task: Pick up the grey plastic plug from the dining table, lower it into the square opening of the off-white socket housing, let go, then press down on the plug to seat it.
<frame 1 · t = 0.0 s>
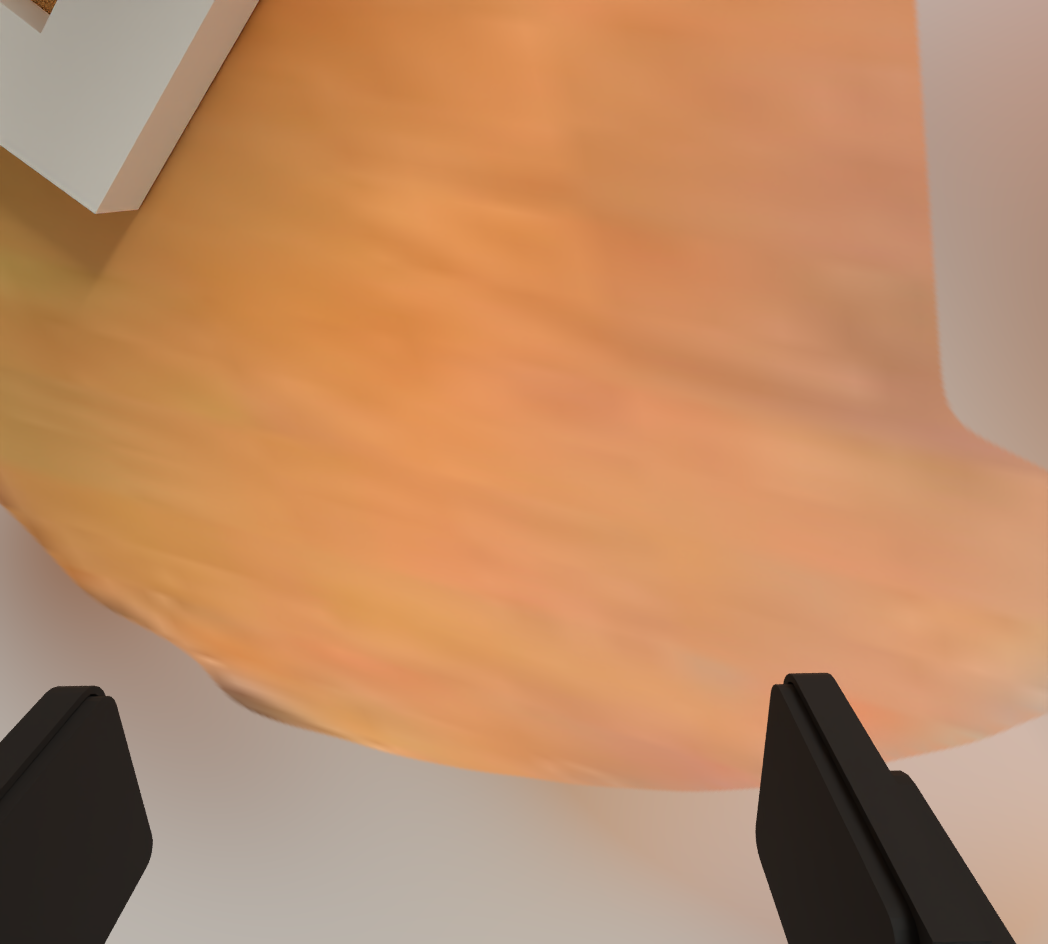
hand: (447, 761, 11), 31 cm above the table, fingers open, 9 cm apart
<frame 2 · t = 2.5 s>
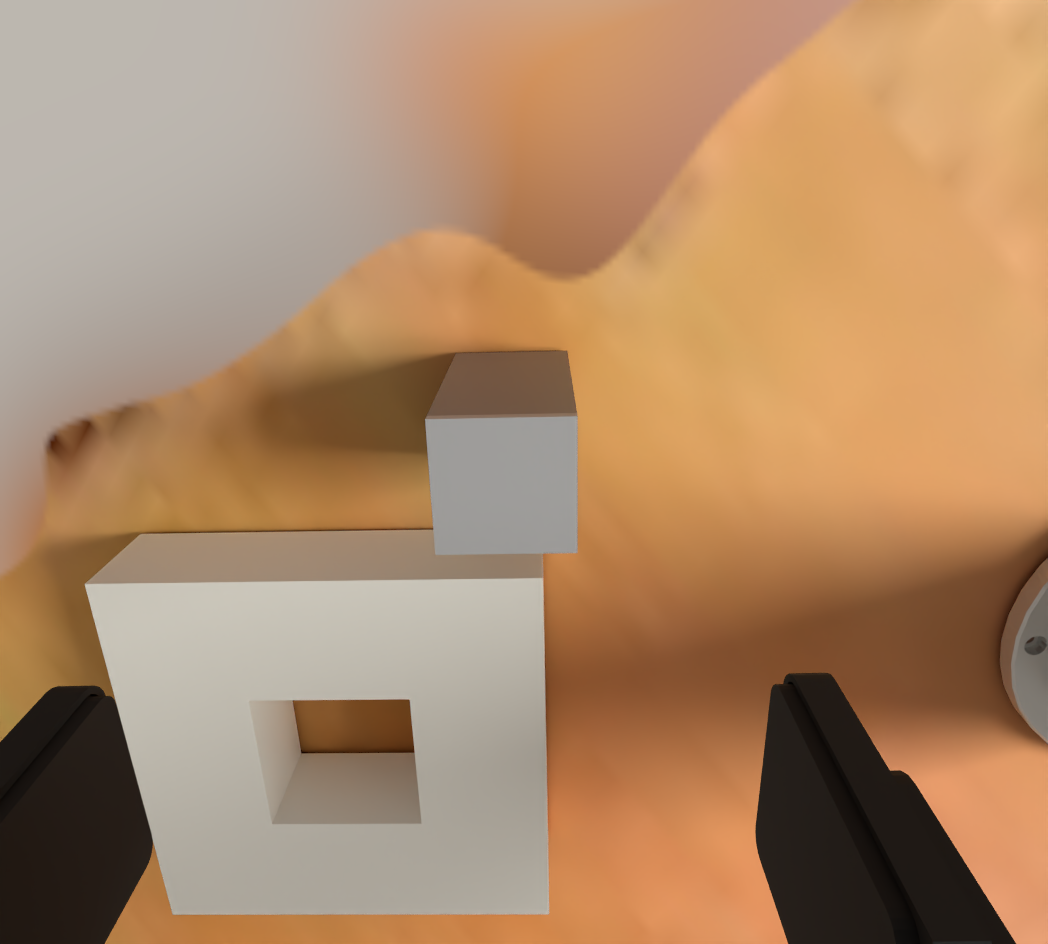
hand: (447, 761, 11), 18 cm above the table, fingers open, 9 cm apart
socket housing: (360, 697, 33), on the table
plug: (513, 405, 28), on the table
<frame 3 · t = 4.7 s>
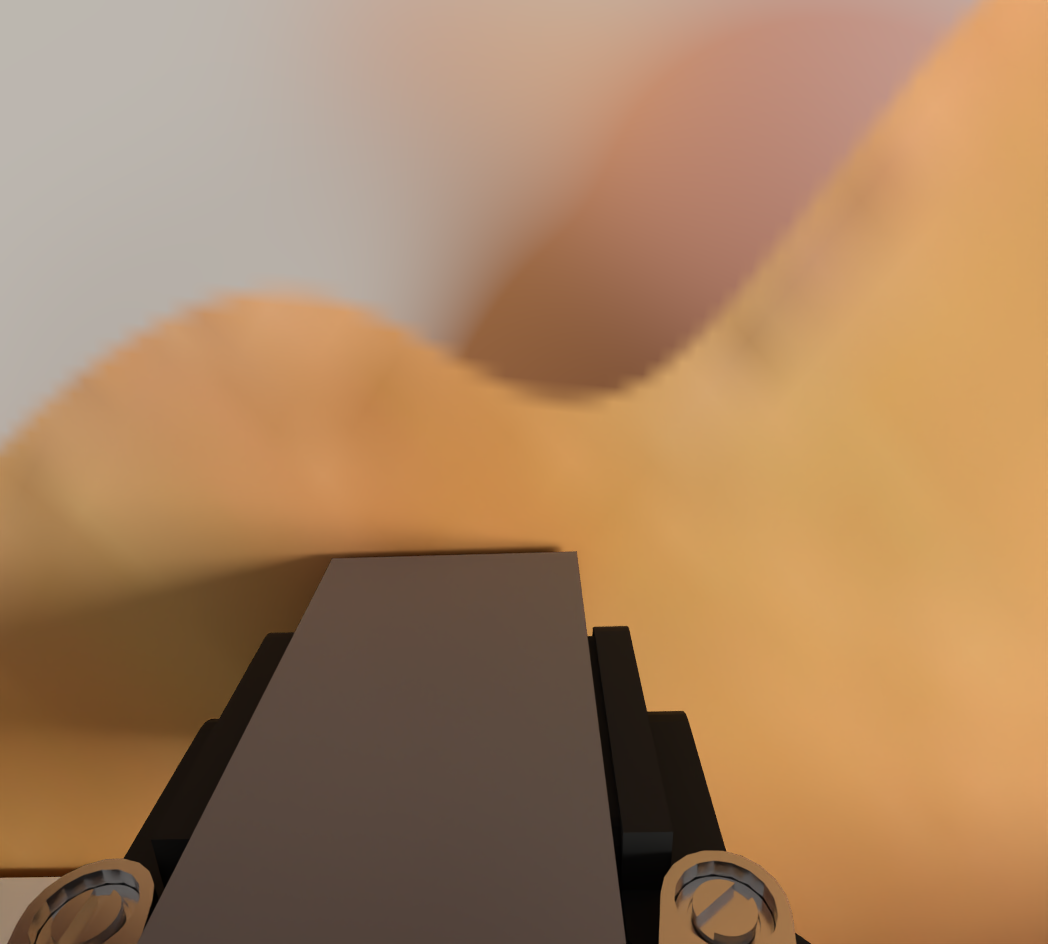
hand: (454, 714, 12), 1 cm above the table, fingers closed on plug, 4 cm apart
plug: (462, 657, 13), on the table, touching gripper
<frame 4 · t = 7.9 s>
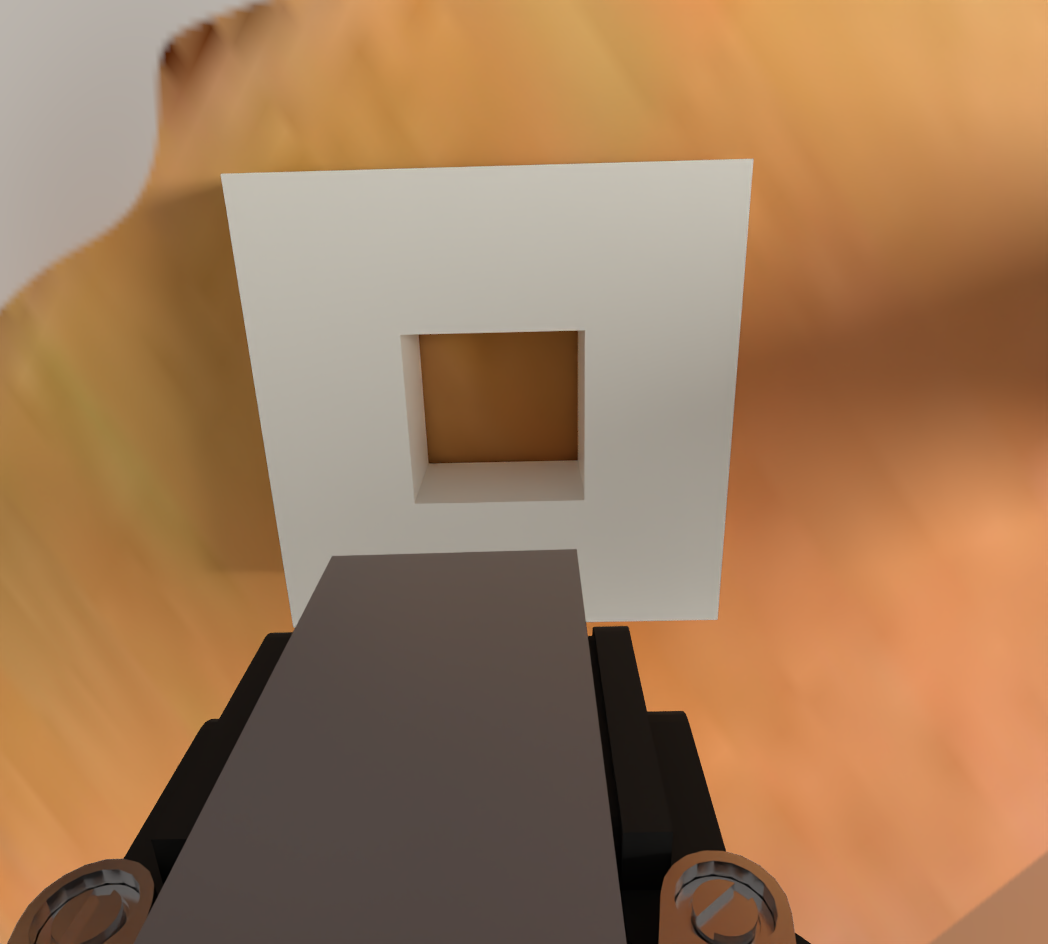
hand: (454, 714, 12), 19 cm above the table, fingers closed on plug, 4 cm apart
socket housing: (500, 389, 29), on the table
plug: (461, 655, 13), point 18 cm above the table, touching gripper
when the fingers open (5 cm above the table, at t = 11.4 s): plug drops 3 cm, resting in socket housing.
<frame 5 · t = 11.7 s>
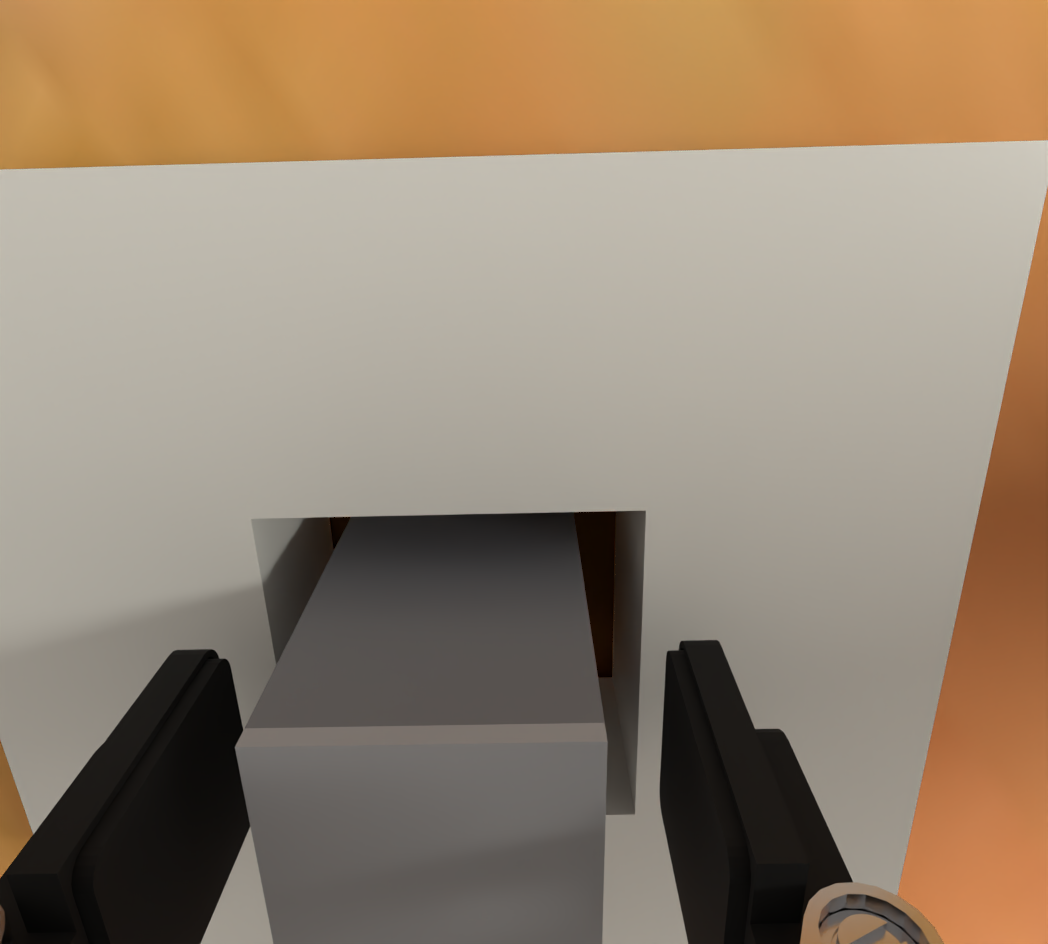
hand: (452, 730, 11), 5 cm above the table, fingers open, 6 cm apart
socket housing: (474, 563, 16), on the table
plug: (473, 559, 16), resting in socket housing
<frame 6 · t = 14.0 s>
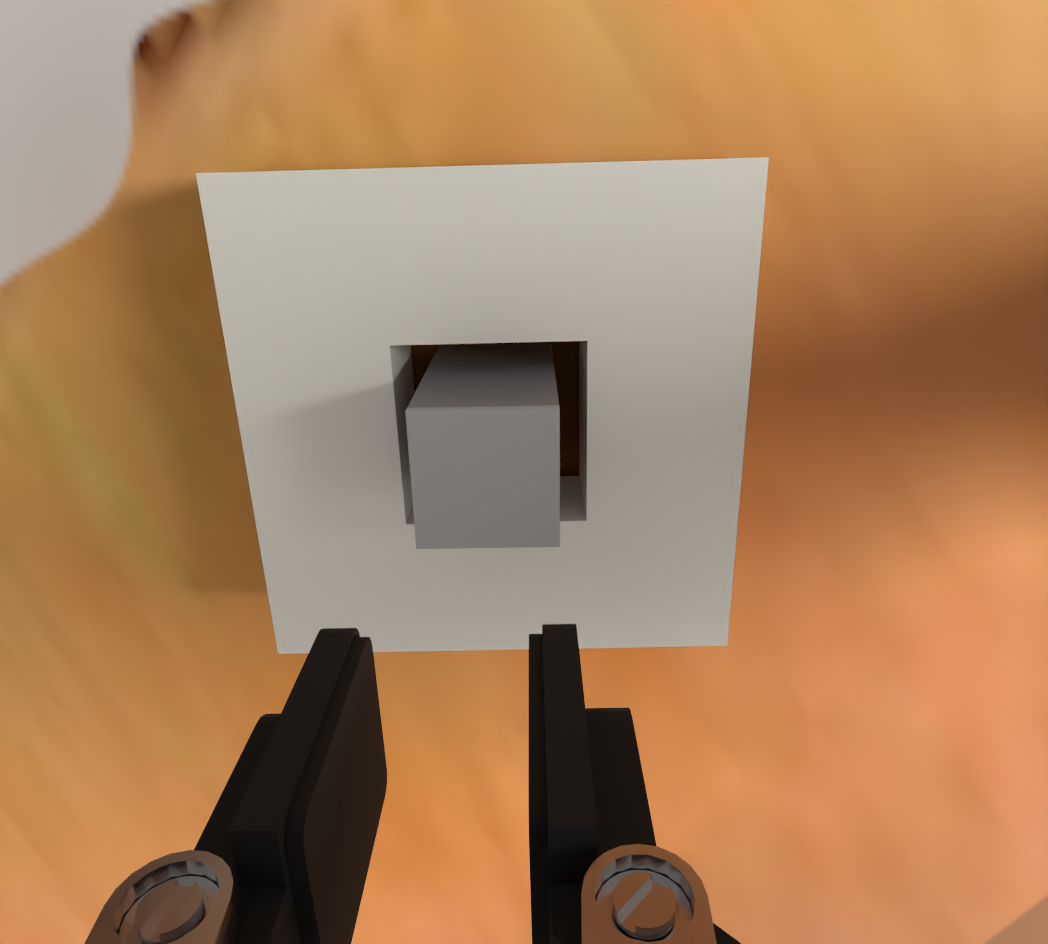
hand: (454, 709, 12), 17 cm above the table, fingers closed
socket housing: (497, 401, 28), on the table
plug: (496, 398, 28), resting in socket housing
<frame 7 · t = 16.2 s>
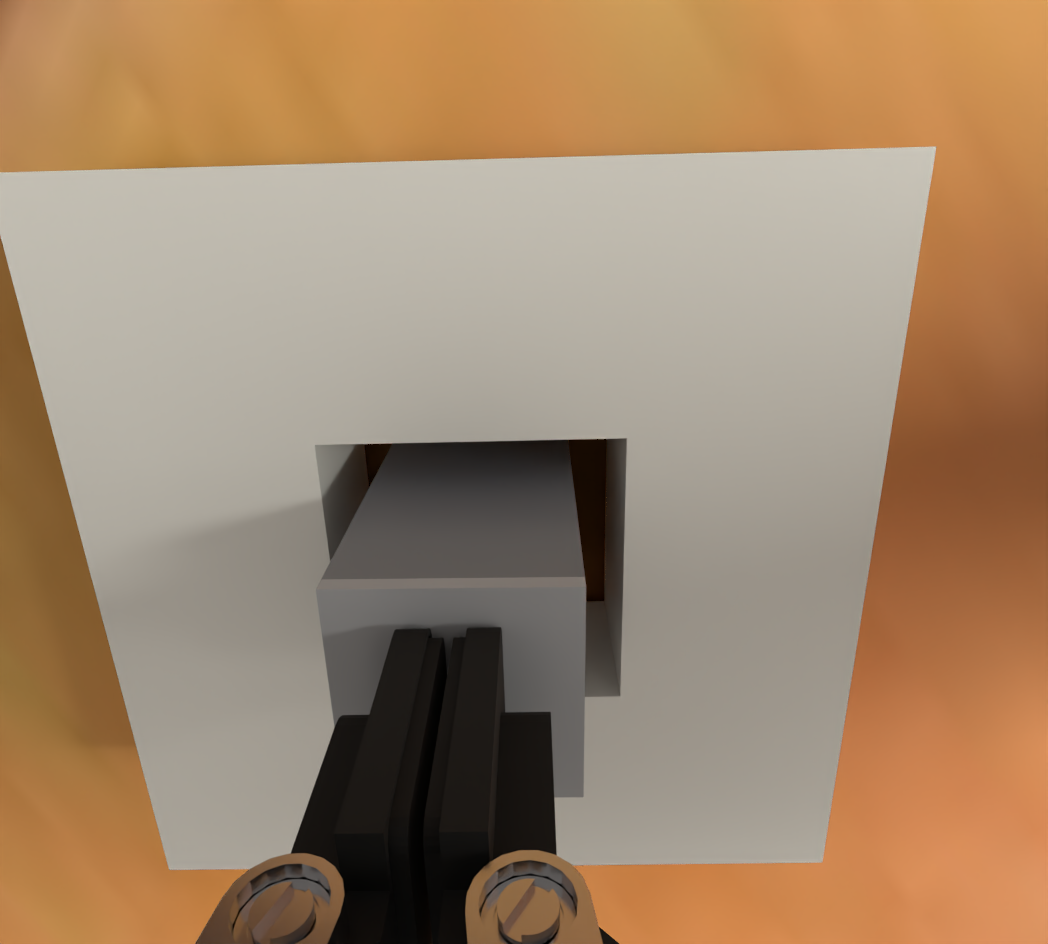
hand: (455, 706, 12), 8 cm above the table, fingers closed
socket housing: (487, 501, 19), on the table
plug: (487, 497, 19), resting in socket housing, touching gripper
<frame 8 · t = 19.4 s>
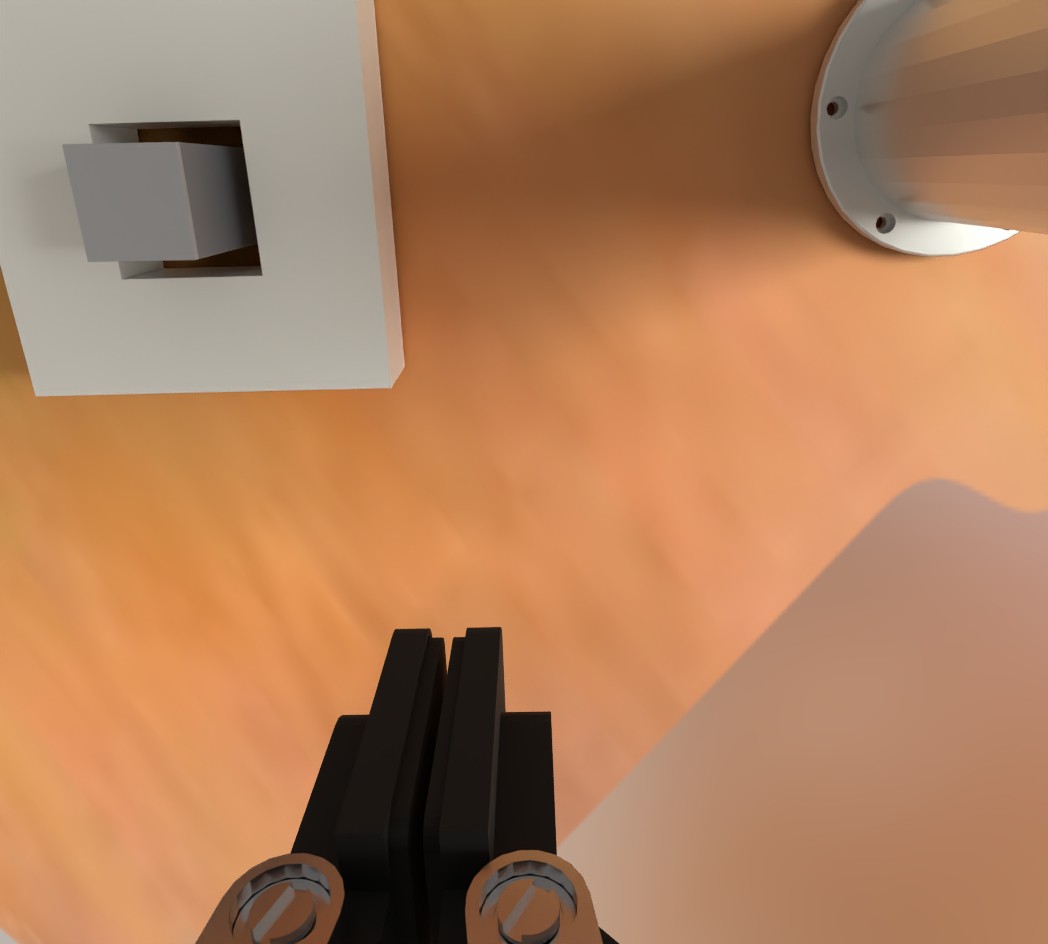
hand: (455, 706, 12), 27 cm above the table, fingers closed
socket housing: (215, 199, 35), on the table
plug: (215, 196, 35), resting in socket housing
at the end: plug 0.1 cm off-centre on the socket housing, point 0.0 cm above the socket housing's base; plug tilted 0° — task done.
